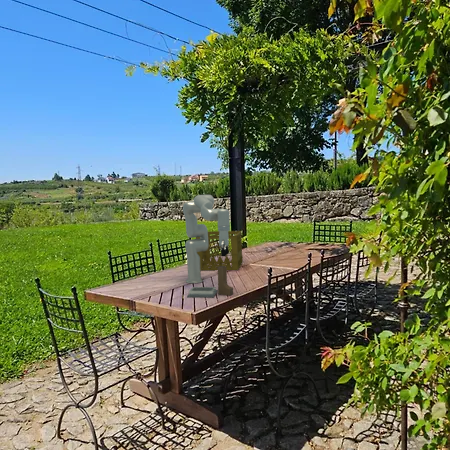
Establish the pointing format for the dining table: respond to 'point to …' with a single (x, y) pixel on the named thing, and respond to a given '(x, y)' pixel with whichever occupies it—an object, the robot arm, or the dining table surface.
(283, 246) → the dining table surface
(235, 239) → the milk crate
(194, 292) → the end cap
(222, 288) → the wooden block
